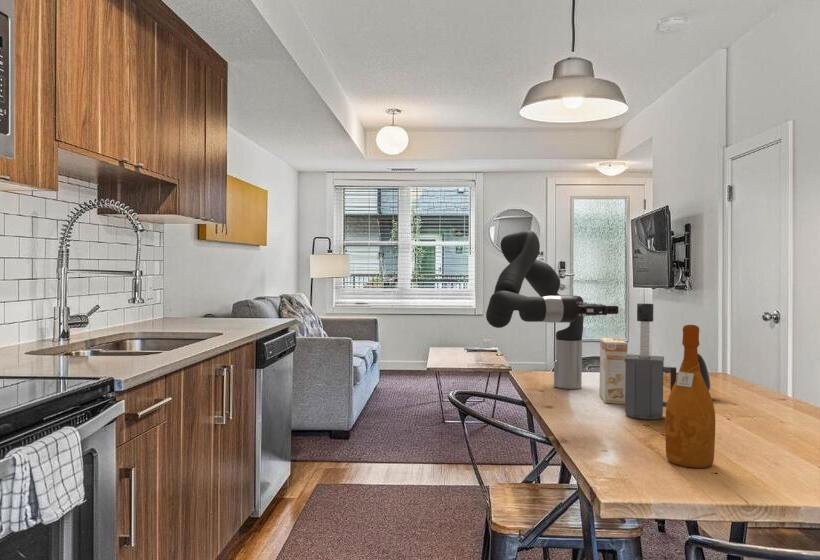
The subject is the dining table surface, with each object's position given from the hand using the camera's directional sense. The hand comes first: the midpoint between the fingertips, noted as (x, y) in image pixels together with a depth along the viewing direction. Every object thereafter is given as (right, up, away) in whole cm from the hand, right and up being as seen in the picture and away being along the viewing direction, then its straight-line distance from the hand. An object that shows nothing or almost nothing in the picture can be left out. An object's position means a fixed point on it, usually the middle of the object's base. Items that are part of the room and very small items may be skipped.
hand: (610, 309), depth 172 cm
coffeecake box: (+9, -31, +26) cm, 42 cm away
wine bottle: (+4, -32, -41) cm, 52 cm away
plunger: (+11, -21, +2) cm, 24 cm away
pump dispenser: (+38, -31, +29) cm, 57 cm away
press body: (+12, -31, +2) cm, 33 cm away
